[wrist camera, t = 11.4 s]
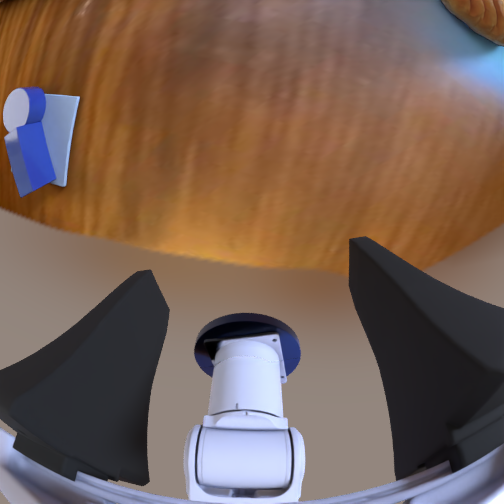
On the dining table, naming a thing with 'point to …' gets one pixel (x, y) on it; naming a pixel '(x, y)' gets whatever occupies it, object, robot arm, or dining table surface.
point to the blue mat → (59, 132)
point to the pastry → (480, 17)
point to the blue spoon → (27, 139)
